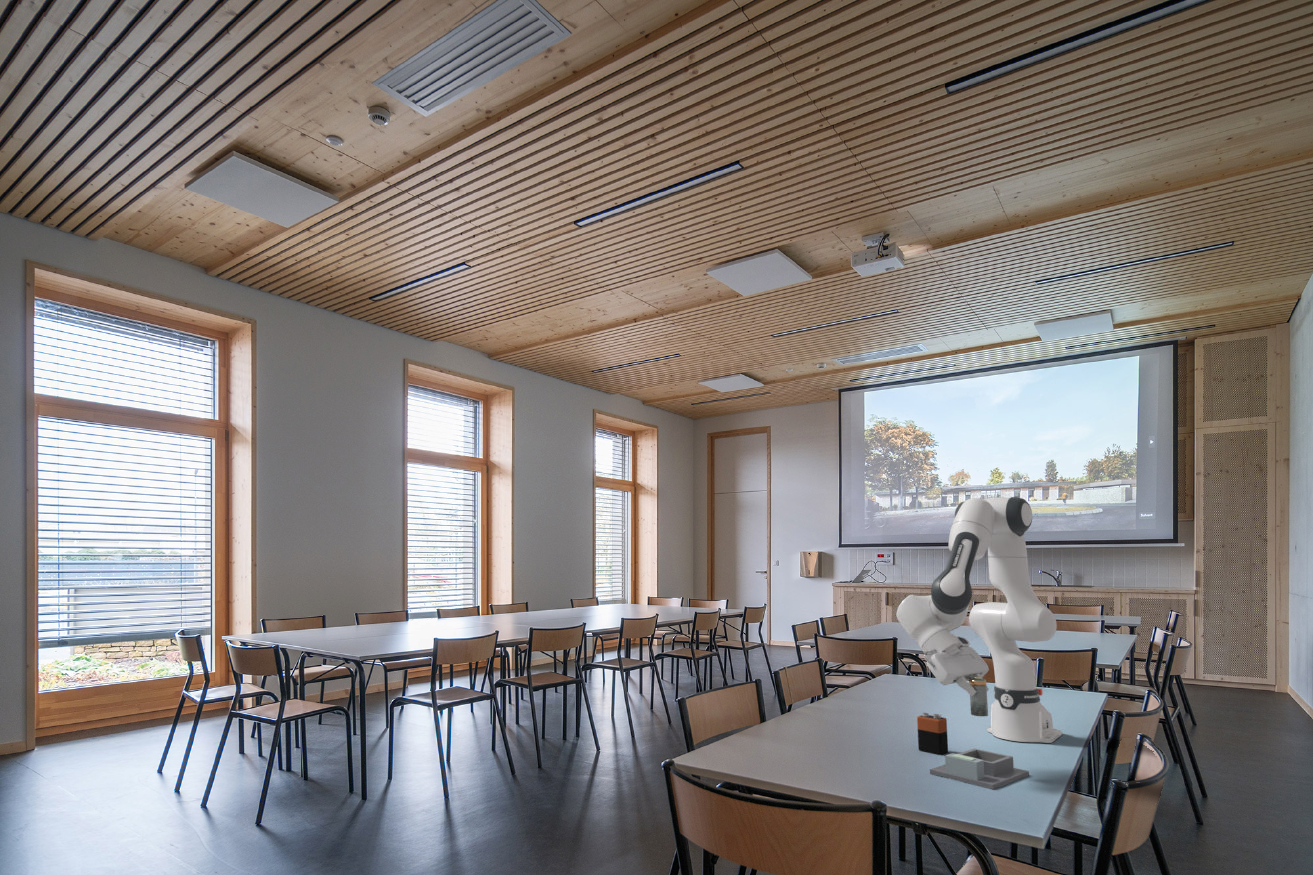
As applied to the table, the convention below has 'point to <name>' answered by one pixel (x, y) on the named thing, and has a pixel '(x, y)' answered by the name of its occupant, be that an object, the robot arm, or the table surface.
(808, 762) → the table surface
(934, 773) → the tester
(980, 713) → the cell
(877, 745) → the table surface
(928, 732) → the battery
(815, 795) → the table surface
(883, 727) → the table surface
